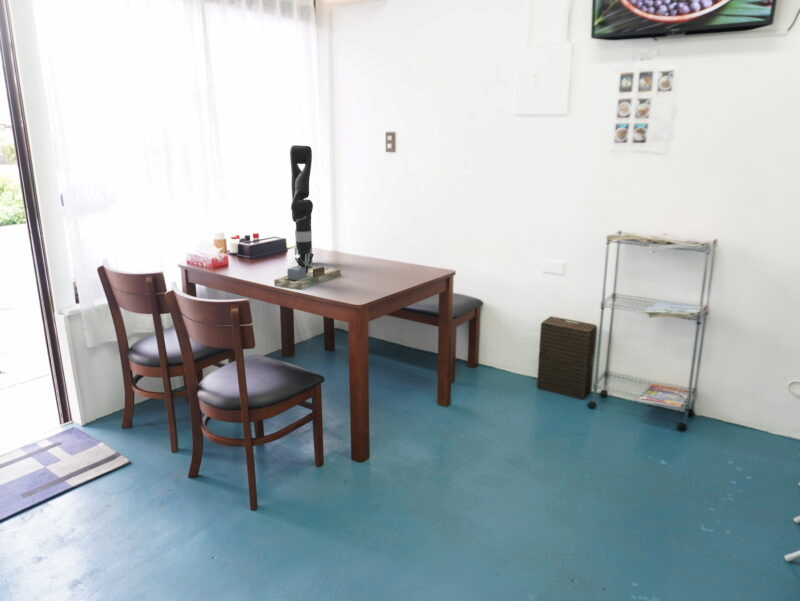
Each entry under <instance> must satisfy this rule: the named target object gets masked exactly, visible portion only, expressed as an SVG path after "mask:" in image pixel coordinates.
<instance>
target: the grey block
mask: <svg viewBox="0 0 800 601" xmlns="http://www.w3.org/2000/svg"><path fill="white" fill-rule="evenodd" d="M287 275H288V279H293V280H300V279H303V278H306V268H305V267H297V266H296V267H292V268H289V269H288V274H287Z"/></svg>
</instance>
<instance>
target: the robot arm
mask: <svg viewBox="0 0 800 601" xmlns="http://www.w3.org/2000/svg"><path fill="white" fill-rule="evenodd" d="M289 157H290V169H291V195H292V196H291V197H292V198H291V200H292V201H291V204H290V210H291V218H292V221H293V222H294V223H295V233H294V236H295V247H294V256H295V255H296V254H297V253H298V257H295V260H296V261H297V263H298V265H299V266H302V267H305V268H306V274H307V273H308V269H309V264H310V263H311V265H312V264H313V258H314V253H313V240H312V238H313V237H312V236H313V235H312V214H313V209H314V204H313V201H312V200H311V199H307V198H308V197H310V177H311V171H312V170H311V169H312V161H313V149H312V147H311V146H310V145H292V146H291V147H290V150H289ZM299 165H304V167H303V169H301V168H300V167H299Z"/></svg>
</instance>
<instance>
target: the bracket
mask: <svg viewBox="0 0 800 601" xmlns="http://www.w3.org/2000/svg"><path fill="white" fill-rule="evenodd" d="M295 257H298V253H297V254H296V255H295V254H294V256H293V257H292V259H291V261H290V263H289V265H288V266H287V268H286V270H285V273H286V274H287V275H288V269H289V268H292V267H296V266H297V267H299V265H298V263H297V261H296V260H295ZM308 267H310V268H313V267H314V266H313V265H312V264H311V263H310V264H309V265H308Z"/></svg>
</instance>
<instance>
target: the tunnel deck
mask: <svg viewBox="0 0 800 601" xmlns="http://www.w3.org/2000/svg"><path fill="white" fill-rule="evenodd" d="M299 267H302V266H299ZM341 272H342V271H341V269H338V268H329V267H324V266H313V268H311V267H310V268H308V273H307V274H306V278H303V279H300V280H293V279H288V274H287V275H284V276H281V277H278V278H274V282H273V283H274V287H275V286H276V287H281V288H289V289H296V290H303V289H306V288H309V287H312V286H314V285H318V284H319V283H323V282H326V281H329V280H330V279H335V278H337V277H339V276H342V274H341Z"/></svg>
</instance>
